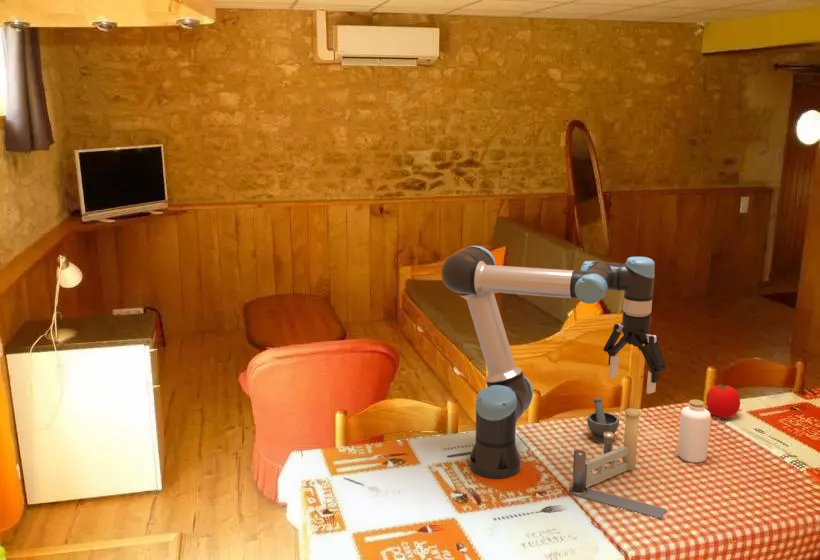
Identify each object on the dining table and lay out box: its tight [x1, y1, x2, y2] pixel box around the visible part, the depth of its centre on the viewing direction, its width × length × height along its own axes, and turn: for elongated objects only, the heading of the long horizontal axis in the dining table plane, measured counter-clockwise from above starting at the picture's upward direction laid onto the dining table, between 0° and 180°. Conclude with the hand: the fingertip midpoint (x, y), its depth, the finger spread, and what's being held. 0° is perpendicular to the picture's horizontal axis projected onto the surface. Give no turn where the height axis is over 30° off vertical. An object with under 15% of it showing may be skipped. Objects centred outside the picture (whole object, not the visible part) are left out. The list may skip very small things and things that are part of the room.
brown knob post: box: [568, 449, 588, 498], centre depth 196 cm, size 5×5×12 cm
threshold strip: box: [571, 487, 667, 520], centre depth 192 cm, size 24×5×1 cm, turn 59°
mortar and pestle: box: [586, 397, 620, 443], centre depth 228 cm, size 11×9×12 cm
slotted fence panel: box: [584, 407, 641, 488], centre depth 202 cm, size 21×4×18 cm, turn 124°
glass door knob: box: [602, 432, 615, 464], centre depth 214 cm, size 4×4×9 cm
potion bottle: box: [677, 399, 712, 464], centre depth 214 cm, size 8×8×18 cm
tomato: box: [705, 383, 741, 419], centre depth 243 cm, size 10×11×11 cm
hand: (631, 384), depth 203 cm, fingers open, 13 cm apart
